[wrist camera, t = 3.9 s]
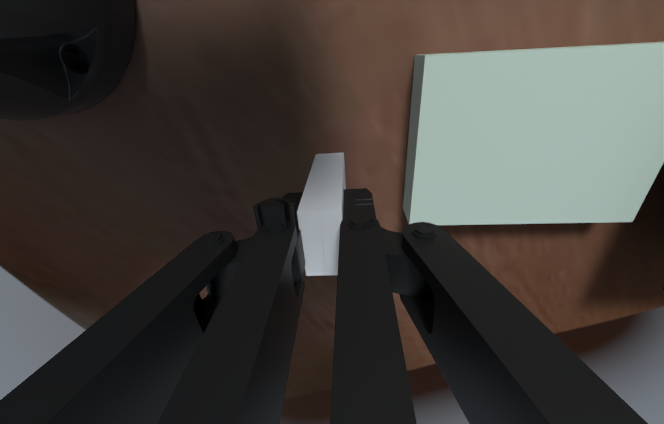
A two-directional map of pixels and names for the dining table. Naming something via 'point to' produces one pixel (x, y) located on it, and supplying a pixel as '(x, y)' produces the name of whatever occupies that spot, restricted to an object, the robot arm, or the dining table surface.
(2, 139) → the dining table surface
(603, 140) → the mint green panel
